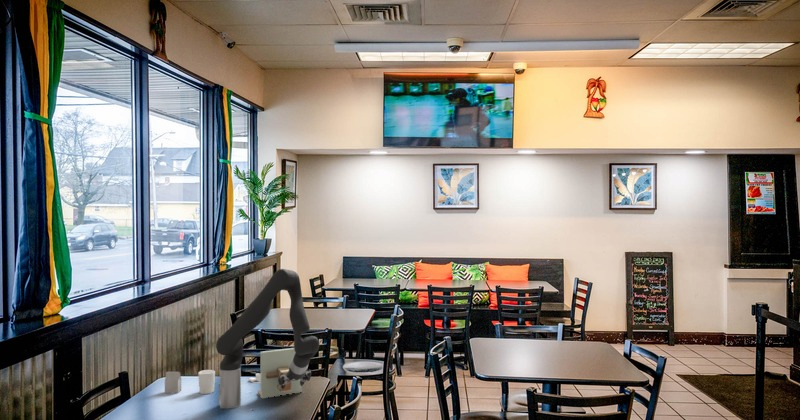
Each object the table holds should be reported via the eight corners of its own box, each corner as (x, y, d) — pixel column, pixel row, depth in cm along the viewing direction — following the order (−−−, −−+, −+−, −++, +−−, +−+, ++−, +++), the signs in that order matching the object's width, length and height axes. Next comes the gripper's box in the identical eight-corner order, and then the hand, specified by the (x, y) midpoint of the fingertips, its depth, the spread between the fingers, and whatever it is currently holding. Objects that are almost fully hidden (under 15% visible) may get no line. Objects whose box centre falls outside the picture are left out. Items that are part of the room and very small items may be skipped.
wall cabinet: (292, 392, 266) (292, 371, 266) (281, 393, 264) (281, 372, 264) (287, 386, 274) (287, 366, 274) (277, 387, 272) (277, 367, 272)
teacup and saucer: (246, 382, 296) (246, 374, 297) (257, 378, 304) (257, 370, 304) (259, 384, 292) (259, 376, 292) (269, 380, 299) (269, 372, 299)
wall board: (303, 393, 275) (303, 349, 276) (262, 400, 266) (262, 353, 267) (297, 388, 285) (297, 344, 285) (257, 393, 276) (257, 349, 276)
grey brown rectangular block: (178, 393, 278) (178, 373, 278) (164, 393, 278) (164, 372, 278) (181, 390, 282) (181, 370, 282) (168, 390, 282) (168, 370, 282)
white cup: (217, 389, 283) (217, 369, 283) (210, 394, 275) (210, 374, 275) (202, 389, 284) (202, 369, 284) (195, 394, 276) (195, 373, 276)
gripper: (312, 357, 254) (305, 376, 264) (281, 361, 247) (275, 380, 257) (316, 371, 249) (308, 390, 259) (284, 376, 242) (278, 395, 252)
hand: (291, 385), depth 258 cm, fingers open, 8 cm apart
